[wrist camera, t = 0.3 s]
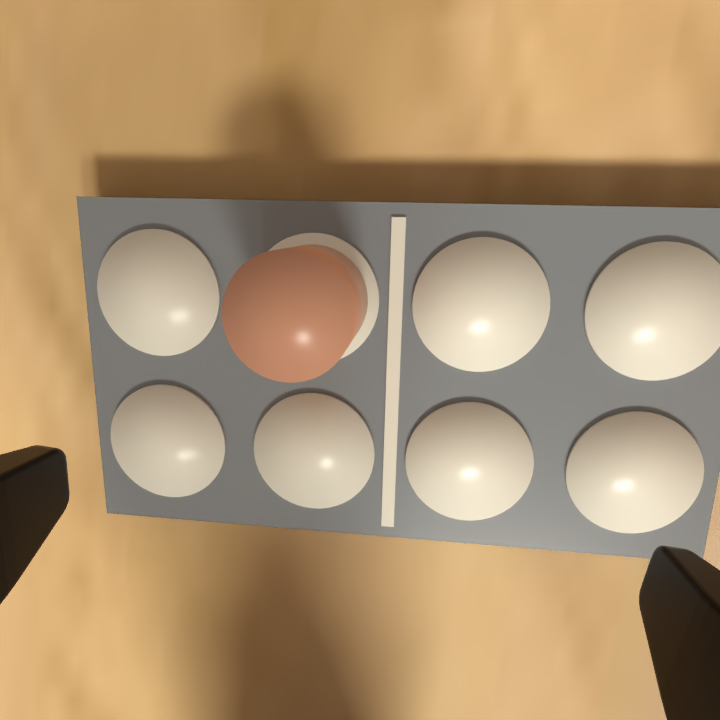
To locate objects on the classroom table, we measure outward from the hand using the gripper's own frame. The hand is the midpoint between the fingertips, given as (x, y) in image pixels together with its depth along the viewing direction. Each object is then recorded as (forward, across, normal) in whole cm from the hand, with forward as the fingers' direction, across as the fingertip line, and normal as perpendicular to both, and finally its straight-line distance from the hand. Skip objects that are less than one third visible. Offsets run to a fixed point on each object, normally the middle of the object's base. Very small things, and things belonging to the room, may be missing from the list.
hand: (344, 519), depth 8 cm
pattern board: (+14, 0, +3) cm, 14 cm away
